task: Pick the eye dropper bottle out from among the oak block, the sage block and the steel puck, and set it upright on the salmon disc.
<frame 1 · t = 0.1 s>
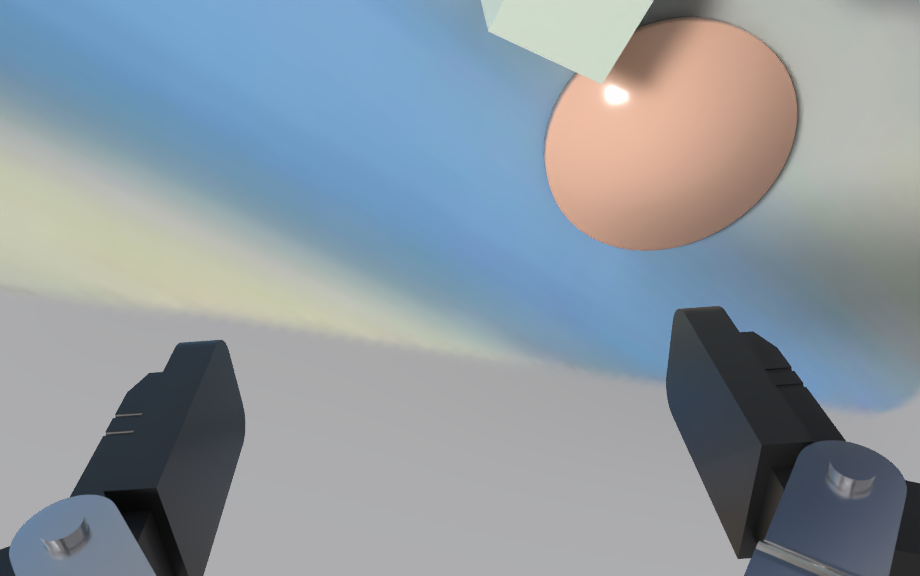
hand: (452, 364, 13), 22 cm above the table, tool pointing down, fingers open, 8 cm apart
salmon disc: (665, 141, 36), on the table
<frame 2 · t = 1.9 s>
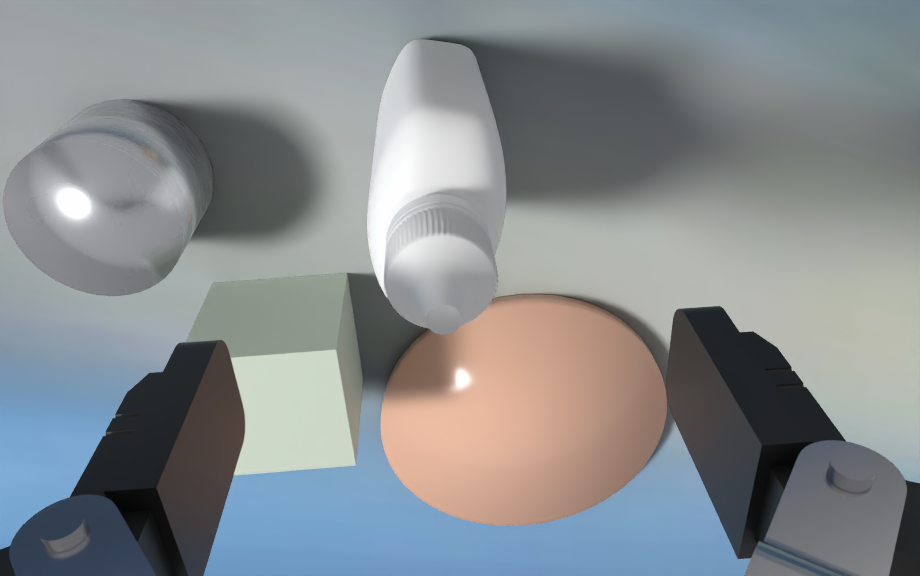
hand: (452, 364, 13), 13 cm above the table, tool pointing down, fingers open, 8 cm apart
eye dropper bottle: (429, 121, 25), on the table
sage block: (291, 331, 29), on the table
steel puck: (138, 171, 25), on the table
salmon disc: (522, 413, 31), on the table
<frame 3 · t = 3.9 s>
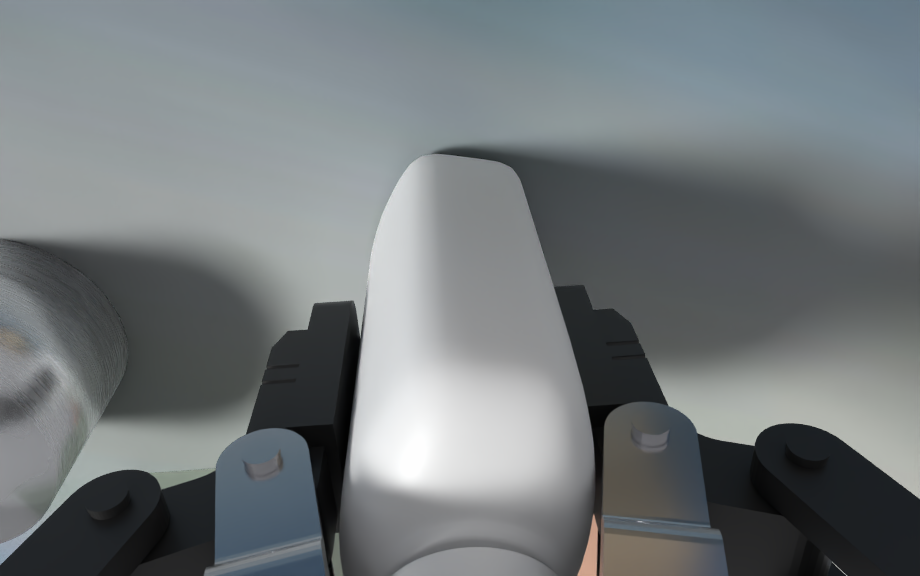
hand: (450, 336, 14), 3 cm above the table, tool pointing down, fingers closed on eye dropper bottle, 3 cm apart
eye dropper bottle: (447, 263, 16), on the table, touching gripper
sage block: (250, 531, 20), on the table
steel puck: (15, 334, 17), on the table
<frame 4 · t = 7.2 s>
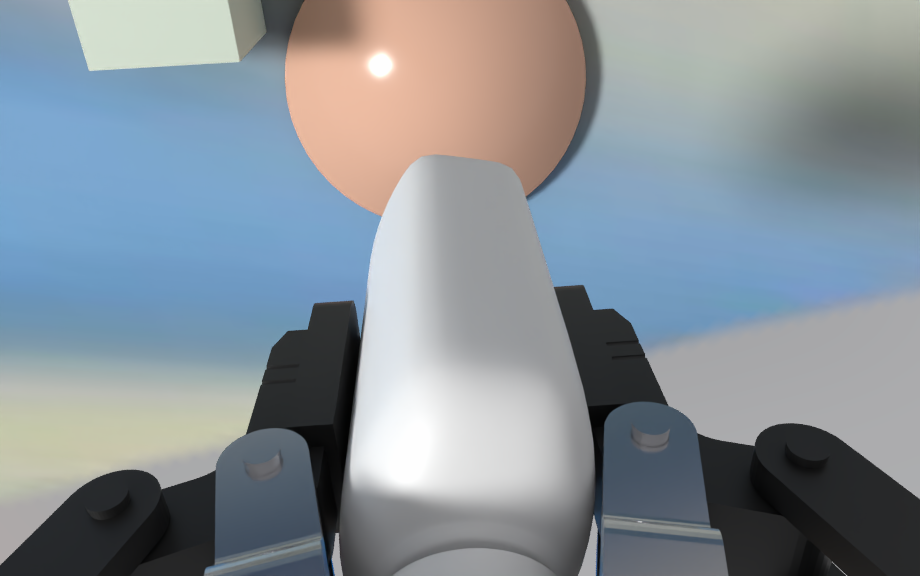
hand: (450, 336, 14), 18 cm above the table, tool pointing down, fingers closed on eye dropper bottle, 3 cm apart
eye dropper bottle: (447, 264, 16), point 16 cm above the table, touching gripper
salmon disc: (436, 85, 30), on the table
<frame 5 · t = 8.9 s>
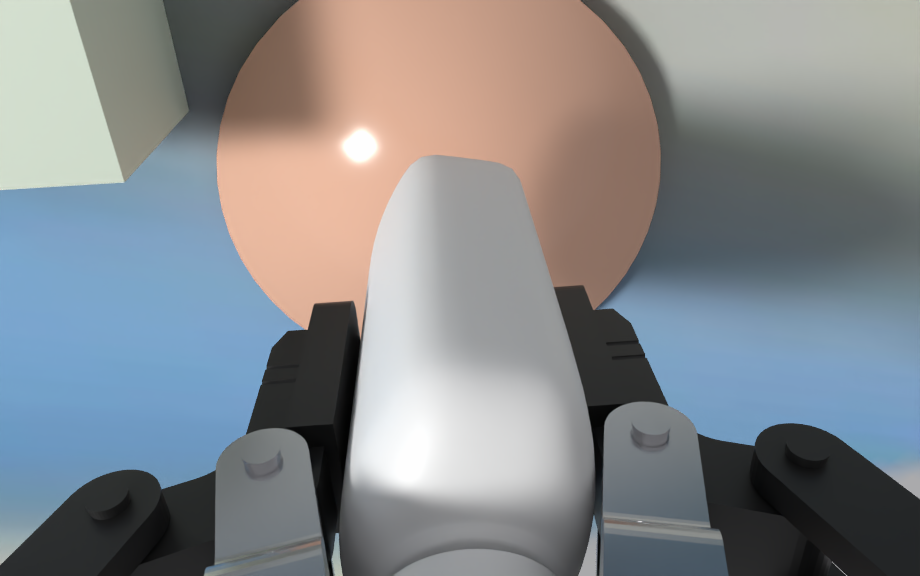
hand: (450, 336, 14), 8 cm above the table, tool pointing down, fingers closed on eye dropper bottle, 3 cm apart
eye dropper bottle: (447, 264, 16), point 5 cm above the table, touching gripper
sage block: (64, 16, 18), on the table
salmon disc: (441, 182, 21), on the table
when the fingers open (5 cm above the table, at t = 10.3 s): eye dropper bottle stays where it is, resting on salmon disc.
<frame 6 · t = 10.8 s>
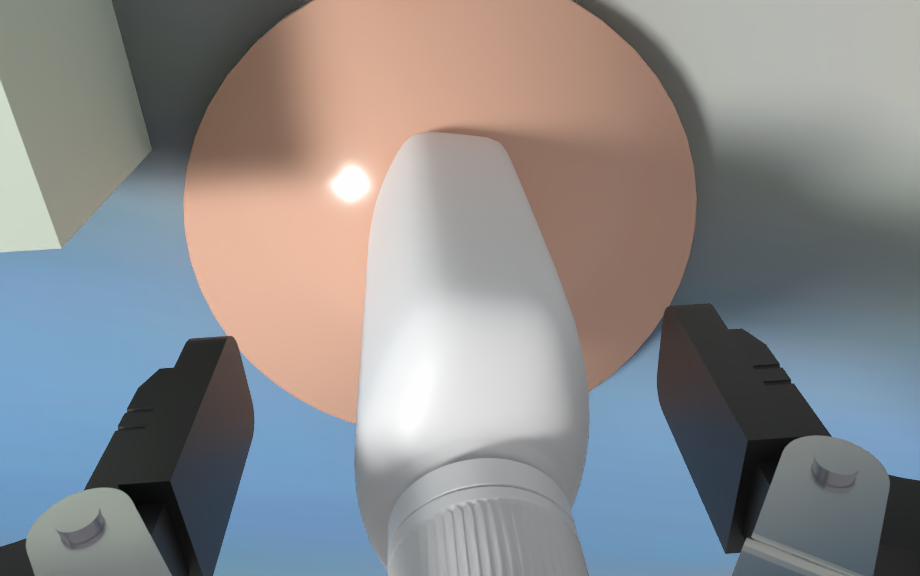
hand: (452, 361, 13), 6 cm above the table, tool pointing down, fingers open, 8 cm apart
eye dropper bottle: (441, 239, 17), point 1 cm above the table, touching salmon disc
sage block: (4, 42, 15), on the table
salmon disc: (443, 229, 18), on the table
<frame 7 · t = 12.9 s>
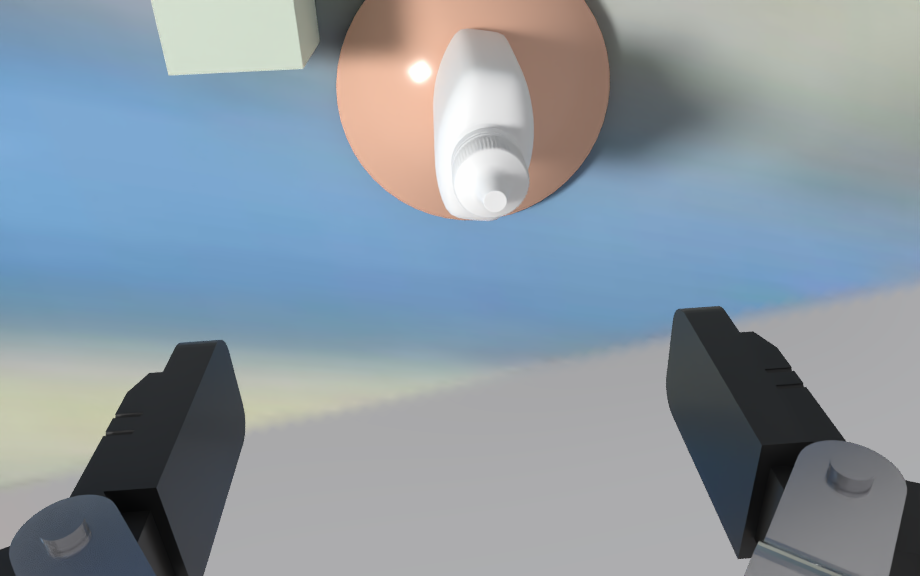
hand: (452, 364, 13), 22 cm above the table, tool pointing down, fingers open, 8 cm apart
eye dropper bottle: (472, 92, 32), point 1 cm above the table, touching salmon disc
salmon disc: (472, 90, 33), on the table
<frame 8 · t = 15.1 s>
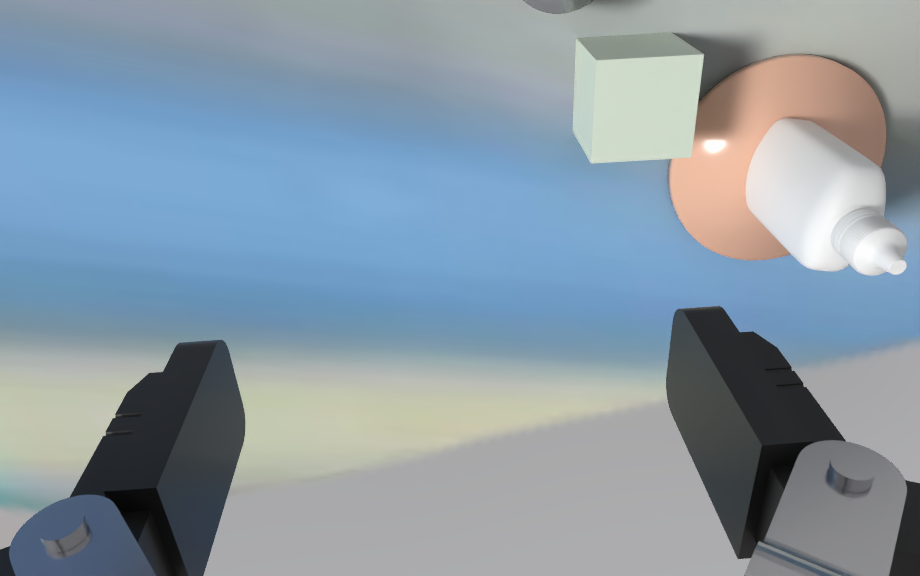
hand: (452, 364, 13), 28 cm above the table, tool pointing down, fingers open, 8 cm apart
eye dropper bottle: (775, 163, 41), point 1 cm above the table, touching salmon disc
sage block: (620, 83, 39), on the table
salmon disc: (772, 161, 42), on the table
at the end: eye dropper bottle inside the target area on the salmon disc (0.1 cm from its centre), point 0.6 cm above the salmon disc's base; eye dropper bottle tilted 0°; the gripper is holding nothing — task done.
